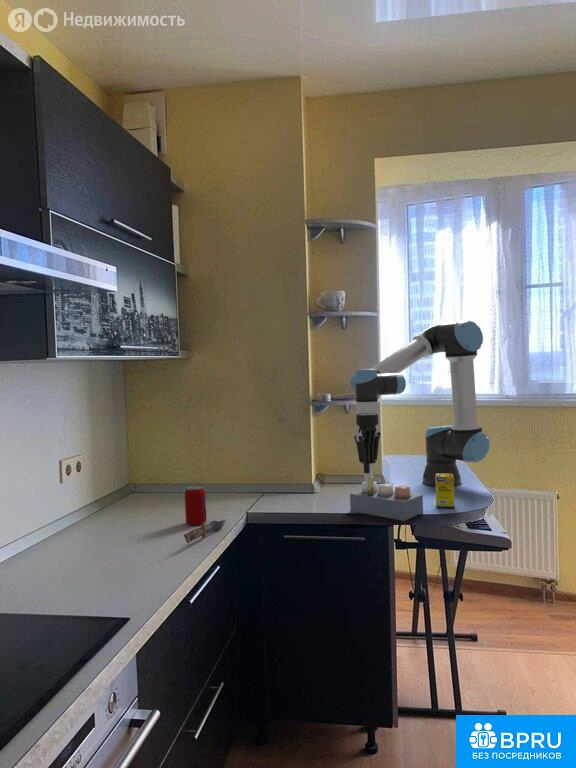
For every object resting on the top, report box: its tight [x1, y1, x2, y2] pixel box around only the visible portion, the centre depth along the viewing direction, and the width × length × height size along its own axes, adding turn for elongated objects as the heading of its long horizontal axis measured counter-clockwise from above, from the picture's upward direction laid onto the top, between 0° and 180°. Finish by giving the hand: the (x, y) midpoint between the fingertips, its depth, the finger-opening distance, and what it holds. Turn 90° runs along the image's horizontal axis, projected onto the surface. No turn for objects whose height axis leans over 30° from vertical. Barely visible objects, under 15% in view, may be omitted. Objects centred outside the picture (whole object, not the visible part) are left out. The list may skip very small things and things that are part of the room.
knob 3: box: [394, 485, 411, 499], centre depth 192 cm, size 5×5×8 cm
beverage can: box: [184, 485, 208, 526], centre depth 191 cm, size 7×7×12 cm
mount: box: [349, 487, 424, 522], centre depth 196 cm, size 12×21×6 cm, turn 48°
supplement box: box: [435, 474, 456, 509], centre depth 200 cm, size 6×6×11 cm
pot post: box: [367, 476, 375, 496], centre depth 195 cm, size 2×2×6 cm
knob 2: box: [377, 483, 394, 496], centre depth 196 cm, size 5×5×8 cm
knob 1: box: [361, 481, 378, 493], centre depth 200 cm, size 5×5×8 cm
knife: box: [183, 518, 227, 544], centre depth 175 cm, size 25×1×5 cm, turn 157°
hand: (368, 481), depth 200 cm, fingers closed
